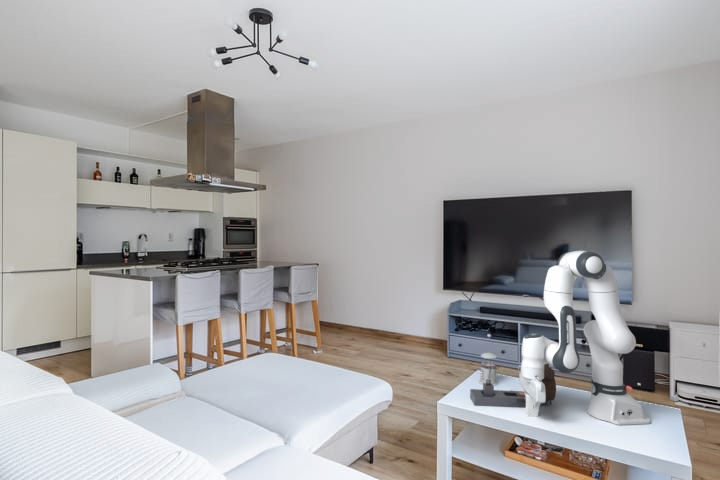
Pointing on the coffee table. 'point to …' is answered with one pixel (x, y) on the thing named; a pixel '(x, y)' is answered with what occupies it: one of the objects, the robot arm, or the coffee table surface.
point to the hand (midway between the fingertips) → (531, 405)
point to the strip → (498, 398)
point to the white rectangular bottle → (530, 407)
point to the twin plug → (488, 388)
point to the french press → (488, 369)
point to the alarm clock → (549, 383)
